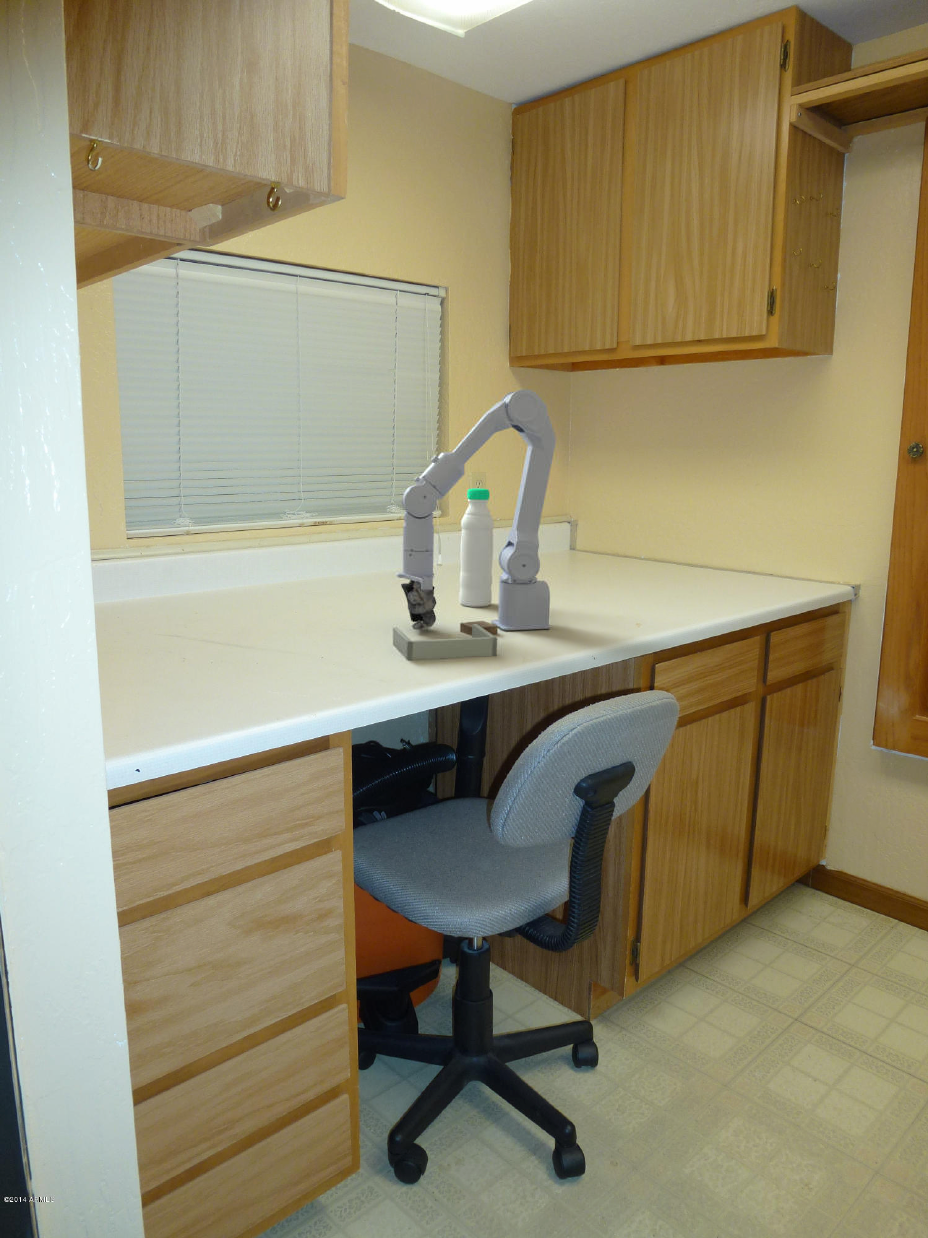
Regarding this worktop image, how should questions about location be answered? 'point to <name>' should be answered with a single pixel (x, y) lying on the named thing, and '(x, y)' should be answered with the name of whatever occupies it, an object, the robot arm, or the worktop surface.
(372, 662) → the worktop surface
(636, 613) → the worktop surface
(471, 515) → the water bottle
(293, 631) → the worktop surface
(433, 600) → the seashell
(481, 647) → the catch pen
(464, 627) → the walnut tile
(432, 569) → the robot arm
